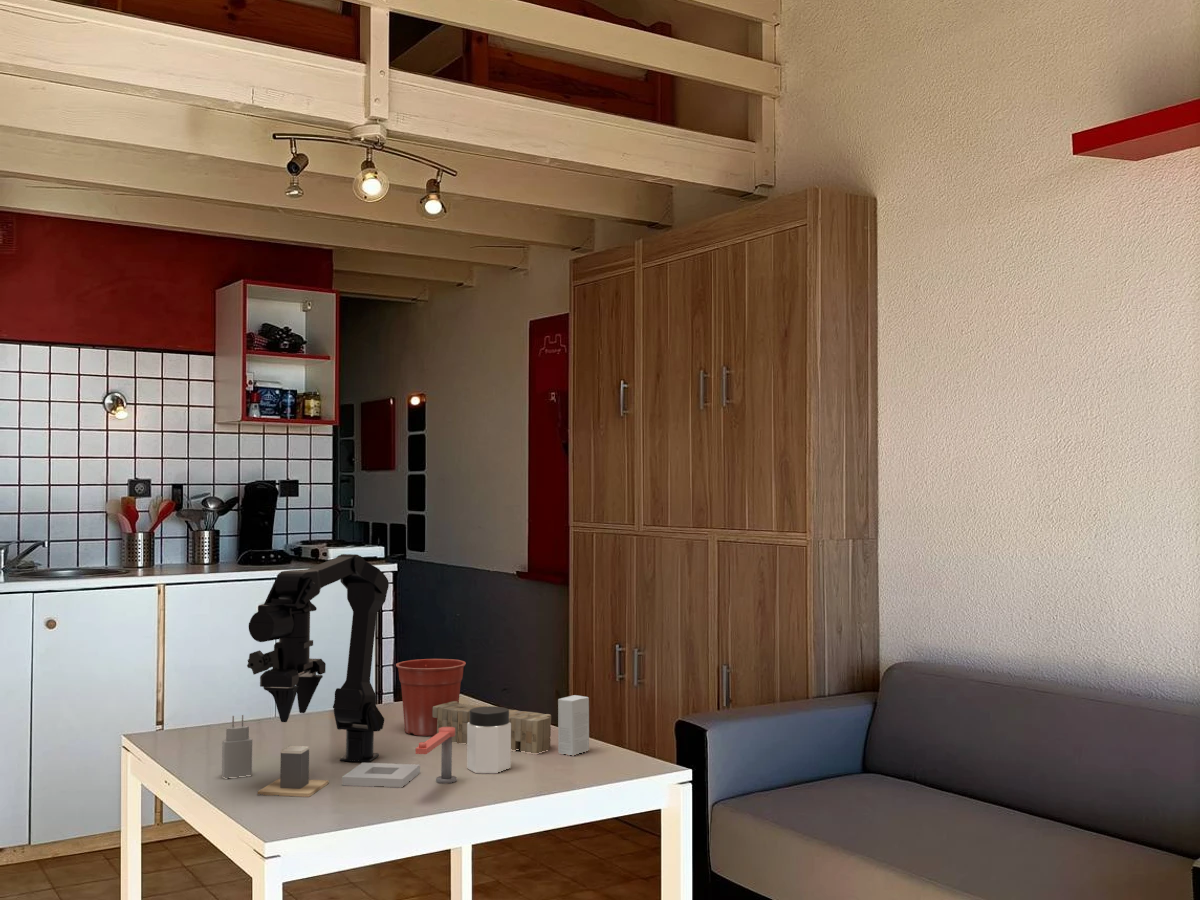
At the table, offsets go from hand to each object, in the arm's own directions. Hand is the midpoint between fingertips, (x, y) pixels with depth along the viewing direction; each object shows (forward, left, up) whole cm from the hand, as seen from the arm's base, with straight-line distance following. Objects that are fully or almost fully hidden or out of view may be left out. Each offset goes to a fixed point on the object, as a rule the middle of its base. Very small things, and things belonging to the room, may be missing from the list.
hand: (293, 717), depth 219 cm
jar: (-17, +35, -13) cm, 41 cm away
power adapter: (-4, -13, -13) cm, 19 cm away
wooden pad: (+4, +2, -13) cm, 13 cm away
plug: (+4, +2, -12) cm, 13 cm away
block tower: (-41, +31, -13) cm, 53 cm away
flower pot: (-52, +13, -13) cm, 55 cm away
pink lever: (+1, +29, -4) cm, 29 cm away
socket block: (-6, +20, -13) cm, 25 cm away
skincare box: (-34, +50, -13) cm, 62 cm away
